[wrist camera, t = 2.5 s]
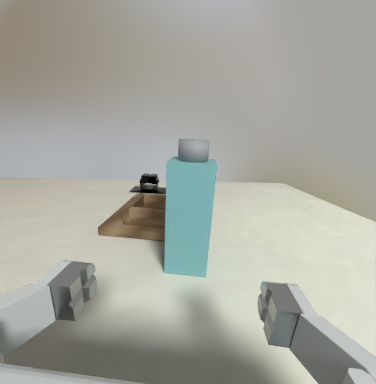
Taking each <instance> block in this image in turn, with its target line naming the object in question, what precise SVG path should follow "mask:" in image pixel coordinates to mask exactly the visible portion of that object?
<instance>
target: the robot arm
mask: <svg viewBox="0 0 376 384" xmlns="http://www.w3.org/2000/svg"><path fill="white" fill-rule="evenodd" d="M94 272H95V265H94V264H92V263H84V262H76V261H67V260H63V261H60V262H59V263H58V264H57V265H56V266H55V267H53V268H52V269H51V270H50V271H49V272H48V273H47V274H45V275H44V276H43V277H42V278H41V279H40V280H38V281H37V282H36V283H35V284H29V285H27V286H24V287H22V288H20V289H17V290H15V291H13V292H10V293H8V294H6V295H3V296H1V297H0V384H145V383H138V382H131V381H124V380H117V379H110V378H103V377H96V376H89V375H82V374H75V373H68V372H61V371H54V370H47V369H40V368H33V367H26V366H19V365H11V364H5V363H4V360H3V358H4V357H5V356H7V355H8V354H10V353H11V352H12V351H14V350H15V349H17V348H18V347H19V346H21V345H22V344H24V343H25V342H26V341H28V340H29V339H31V338H32V337H33V336H35V335H36V334H37V333H39V332H40V331H42V330H43V329H44V328H46V327H47V326H49V325H50V324H51V323H53V322H54V321H56V319H60V320H71V321H75V320H76V318H77V317H78V316H79V314H80V313H81V311H82V310H83V309H84V303H85V302H86V301H88V300H90V298H91V297H92V295H93V294H94V291H95V289H96V283H97V281H96V277H95V276H94V275H93V273H94ZM260 289H261V292H262V293H261V294H260V295H259V297H258V312H259V316H260V319H261V320H262V321H263V322H264V328H263V329H264V332H265V336H266V339H267V342H268V345H273V346H280V347H286V348H290V350H291V351H292V353H293V354H294V355H295V356H296V357H297V359H298V360H299V361H300V362H301V363H302V365H303V366H304V367H305V368H306V369H307V371H308V372H309V373H310V374H311V375H312V377H313V378H314V379H315V380H316V381H317V383H318V384H376V357H375V356H374V355H372V354H371V353H370V352H368V351H367V350H366V349H364V348H363V347H362V346H360V345H359V344H358V343H356V342H355V341H354V340H352V339H351V338H350V337H348V336H347V335H346V334H344V333H343V332H342V331H340V330H339V329H338V328H337V327H335V326H334V325H333V324H331V323H330V322H329V321H327V320H326V319H325V318H323V317H322V316H318V315H317V314H316V312H315V311H314V309H313V308H312V306H311V305H310V303H309V301H308V300H307V298H306V297H305V295H304V294H303V292H302V291H301V289H300V287H299V286H298V285H297V284H289V283H285V284H284V283H275V282H265V281H263V282H262V283H261V287H260Z"/></svg>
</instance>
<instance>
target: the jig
mask: <svg viewBox="0 0 376 384" xmlns="http://www.w3.org/2000/svg"><path fill="white" fill-rule="evenodd" d="M165 214H166V195H163V194H150V193H139V194H136V195H135V196H133V198H131V199H130V200H129V201H128V202H127V203H126V204H124V205H123V206H122V207H121V208H120V209H119V210H118V211H116V212H115V213H114V214H113V215H112V216H111V217H109V218H108V219H107V220H106V221H105V222H104V223H103V224H101V225H100V226H99V227H98V231H99V235H106V236H117V237H127V238H138V239H149V240H160V241H165Z"/></svg>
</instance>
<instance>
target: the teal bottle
mask: <svg viewBox="0 0 376 384" xmlns="http://www.w3.org/2000/svg"><path fill="white" fill-rule="evenodd" d="M209 143H210V141H207V140H193V139H179V150H178V157H173V158H172V159H170V160H169V161H167V172H166V214H165V257H164V273H170V274H179V275H189V276H199V277H206V269H207V259H208V250H209V240H210V230H211V220H212V210H213V200H214V190H215V180H216V169H217V164H216V162H215V160H214V159H208V155H209Z"/></svg>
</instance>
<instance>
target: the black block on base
mask: <svg viewBox="0 0 376 384" xmlns="http://www.w3.org/2000/svg"><path fill="white" fill-rule="evenodd" d="M158 182H159V180H158V178H157V174H151V175H150V174H143V175H142V176H141V179H140V187H138V186H135V187H134V188H133V189H132V190H131V191H130V192H137V193H156V194H166V188H159V187H158ZM145 183H152V184H156V186H147V185H145V186H144V184H145Z"/></svg>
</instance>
